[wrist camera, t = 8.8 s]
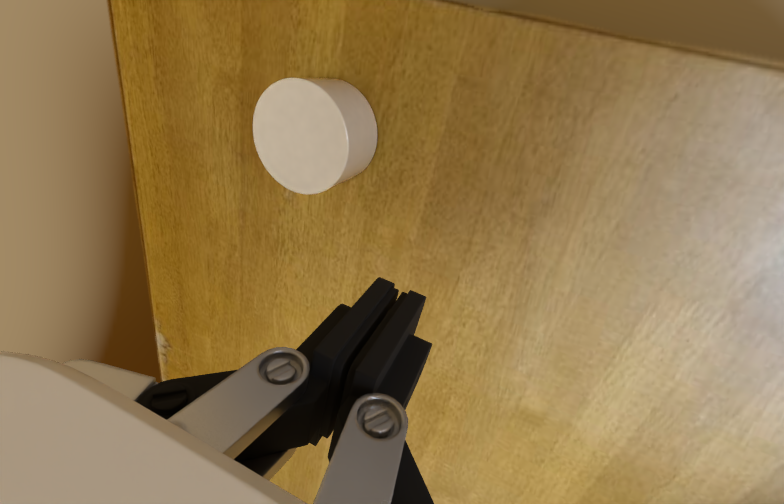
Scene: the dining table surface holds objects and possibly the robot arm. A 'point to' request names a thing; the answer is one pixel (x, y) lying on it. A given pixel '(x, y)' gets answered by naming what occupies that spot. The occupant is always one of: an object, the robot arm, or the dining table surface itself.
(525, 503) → the dining table surface
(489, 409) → the dining table surface
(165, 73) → the dining table surface
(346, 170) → the white cylindrical puck
